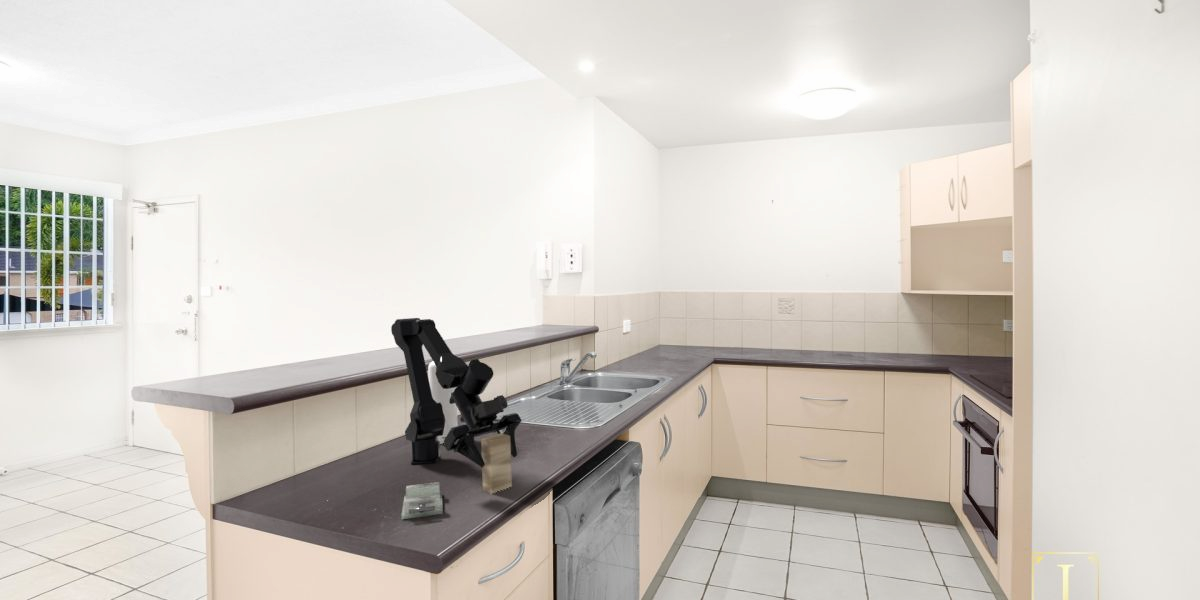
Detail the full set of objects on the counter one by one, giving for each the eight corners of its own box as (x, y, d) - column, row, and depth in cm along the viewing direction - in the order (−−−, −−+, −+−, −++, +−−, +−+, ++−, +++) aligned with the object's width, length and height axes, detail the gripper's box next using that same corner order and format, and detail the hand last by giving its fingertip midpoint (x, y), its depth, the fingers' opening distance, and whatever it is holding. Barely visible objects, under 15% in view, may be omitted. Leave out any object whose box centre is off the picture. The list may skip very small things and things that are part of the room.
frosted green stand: (404, 499, 123) (403, 485, 123) (442, 494, 125) (441, 480, 125) (401, 523, 110) (400, 507, 110) (442, 517, 113) (442, 501, 113)
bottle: (438, 436, 174) (435, 347, 173) (462, 436, 172) (459, 347, 172) (425, 443, 166) (422, 350, 165) (450, 444, 164) (447, 350, 164)
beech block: (482, 490, 127) (481, 438, 127) (502, 483, 131) (500, 433, 131) (492, 494, 125) (490, 441, 124) (511, 487, 129) (510, 435, 128)
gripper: (448, 392, 123) (478, 450, 116) (515, 380, 137) (546, 431, 129) (431, 422, 129) (459, 479, 121) (497, 407, 142) (526, 458, 135)
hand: (500, 461), depth 127 cm, fingers open, 9 cm apart
